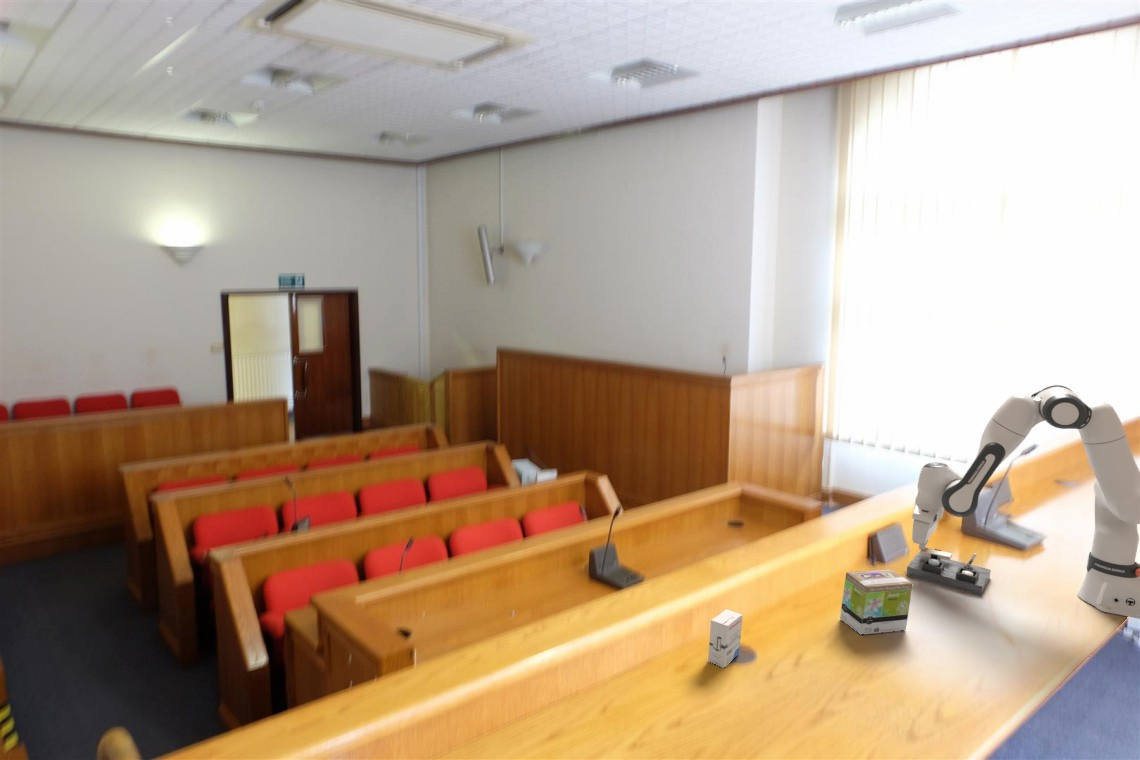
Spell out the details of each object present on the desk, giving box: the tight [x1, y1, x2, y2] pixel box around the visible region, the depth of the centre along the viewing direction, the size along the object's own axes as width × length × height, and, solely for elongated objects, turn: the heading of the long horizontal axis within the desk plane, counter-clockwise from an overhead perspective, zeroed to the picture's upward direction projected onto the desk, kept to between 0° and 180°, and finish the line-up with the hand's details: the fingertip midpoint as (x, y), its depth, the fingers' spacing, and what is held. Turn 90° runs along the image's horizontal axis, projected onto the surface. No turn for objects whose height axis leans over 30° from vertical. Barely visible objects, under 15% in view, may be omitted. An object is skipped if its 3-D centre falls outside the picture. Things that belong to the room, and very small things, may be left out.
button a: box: [962, 571, 973, 576], centre depth 243 cm, size 3×3×1 cm
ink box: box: [707, 608, 744, 669], centre depth 195 cm, size 9×5×12 cm, turn 141°
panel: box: [906, 548, 992, 596], centre depth 249 cm, size 22×16×6 cm
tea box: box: [839, 568, 913, 636], centre depth 215 cm, size 15×10×15 cm
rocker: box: [919, 547, 953, 560], centre depth 255 cm, size 9×4×2 cm, turn 53°
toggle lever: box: [966, 553, 978, 567], centre depth 249 cm, size 1×1×5 cm
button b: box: [928, 559, 939, 566], centre depth 248 cm, size 3×3×1 cm
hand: (922, 548), depth 257 cm, fingers closed
